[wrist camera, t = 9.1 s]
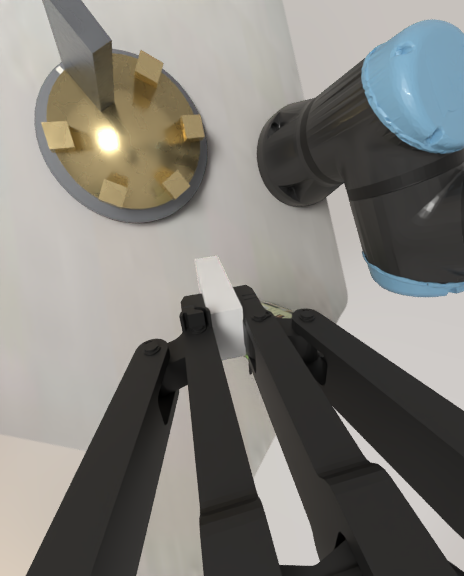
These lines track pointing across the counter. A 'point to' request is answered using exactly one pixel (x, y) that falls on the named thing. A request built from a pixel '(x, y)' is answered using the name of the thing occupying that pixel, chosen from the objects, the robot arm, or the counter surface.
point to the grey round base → (86, 197)
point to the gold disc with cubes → (117, 117)
